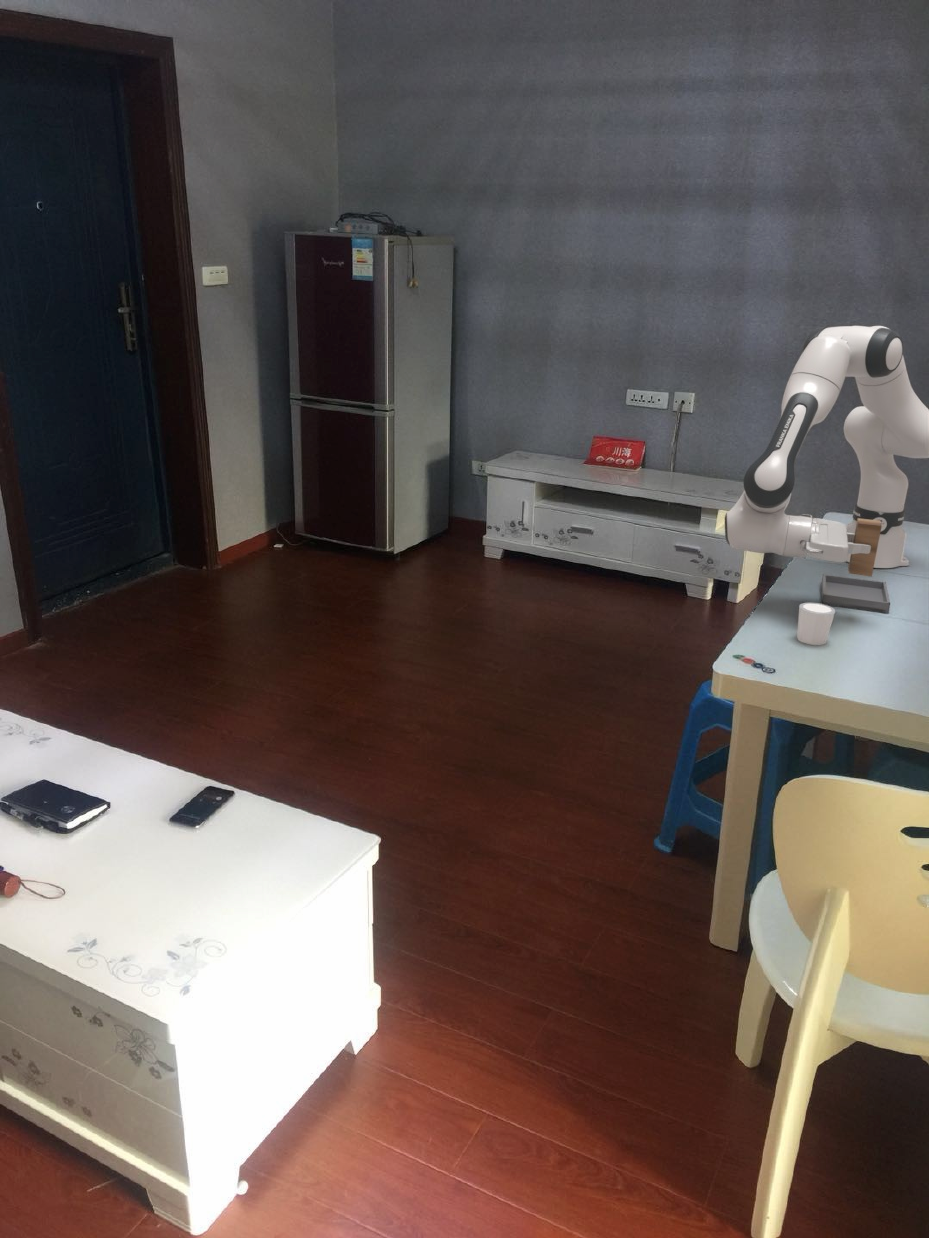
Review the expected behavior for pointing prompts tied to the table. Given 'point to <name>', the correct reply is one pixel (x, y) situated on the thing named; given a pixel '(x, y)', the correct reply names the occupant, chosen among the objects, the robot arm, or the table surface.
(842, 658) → the table surface
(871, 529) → the walnut block
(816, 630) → the white cup
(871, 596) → the charcoal tray
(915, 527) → the table surface
